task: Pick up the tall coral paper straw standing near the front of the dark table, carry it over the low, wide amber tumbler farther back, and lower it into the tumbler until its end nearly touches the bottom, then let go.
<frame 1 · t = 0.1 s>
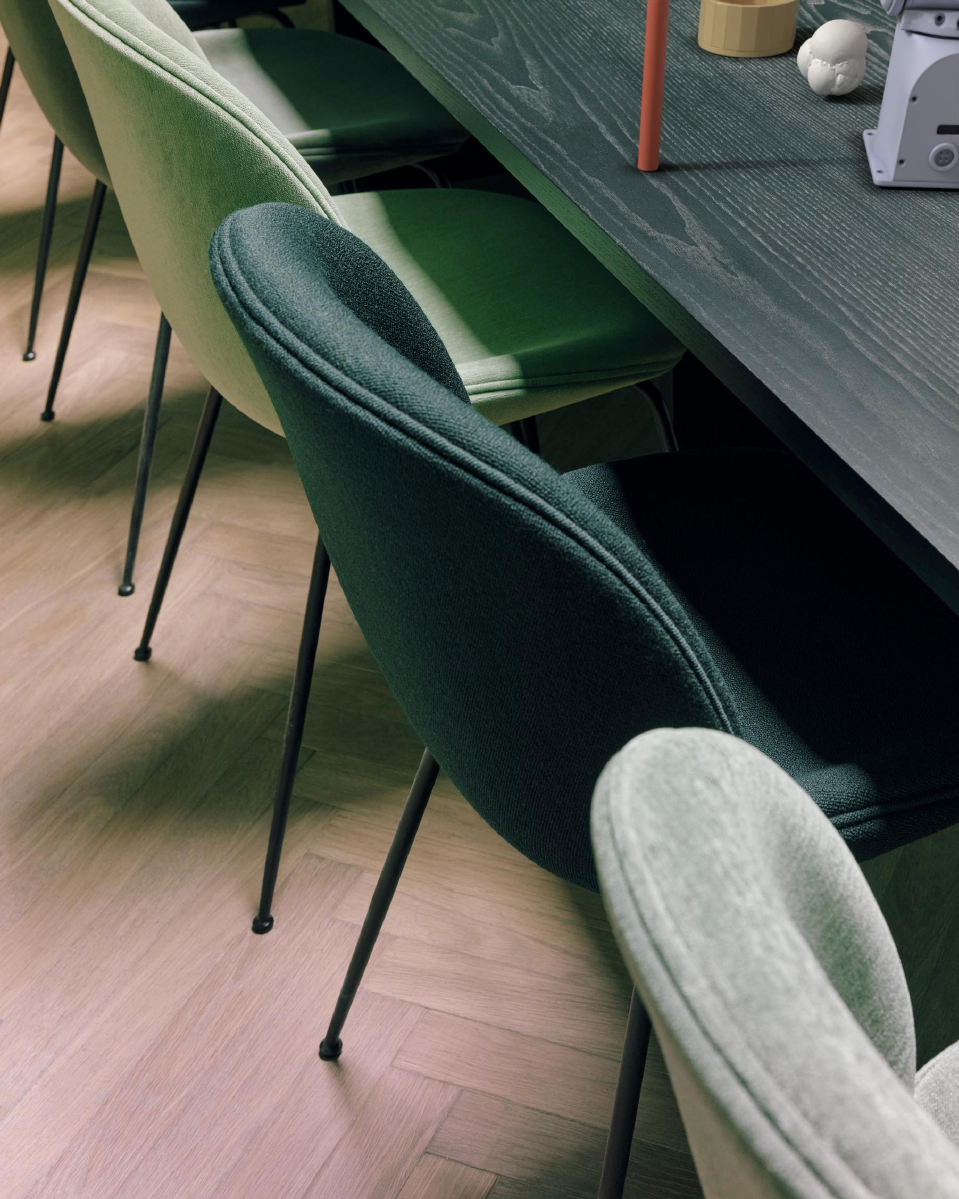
microfossil shell: (824, 98, 94), on the table
straw: (648, 167, 84), on the table
tumbler: (745, 42, 105), on the table
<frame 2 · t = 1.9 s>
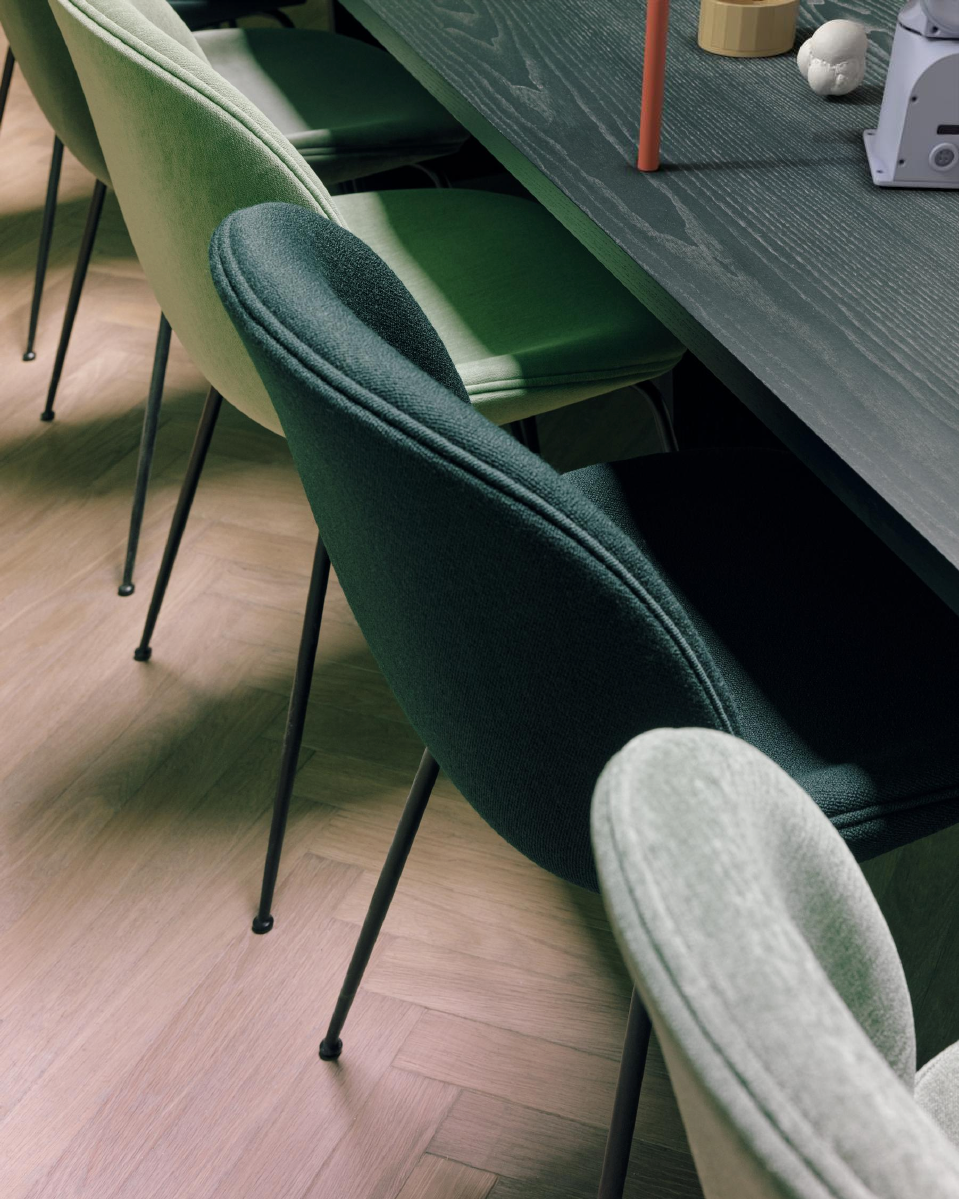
nothing on the table moved.
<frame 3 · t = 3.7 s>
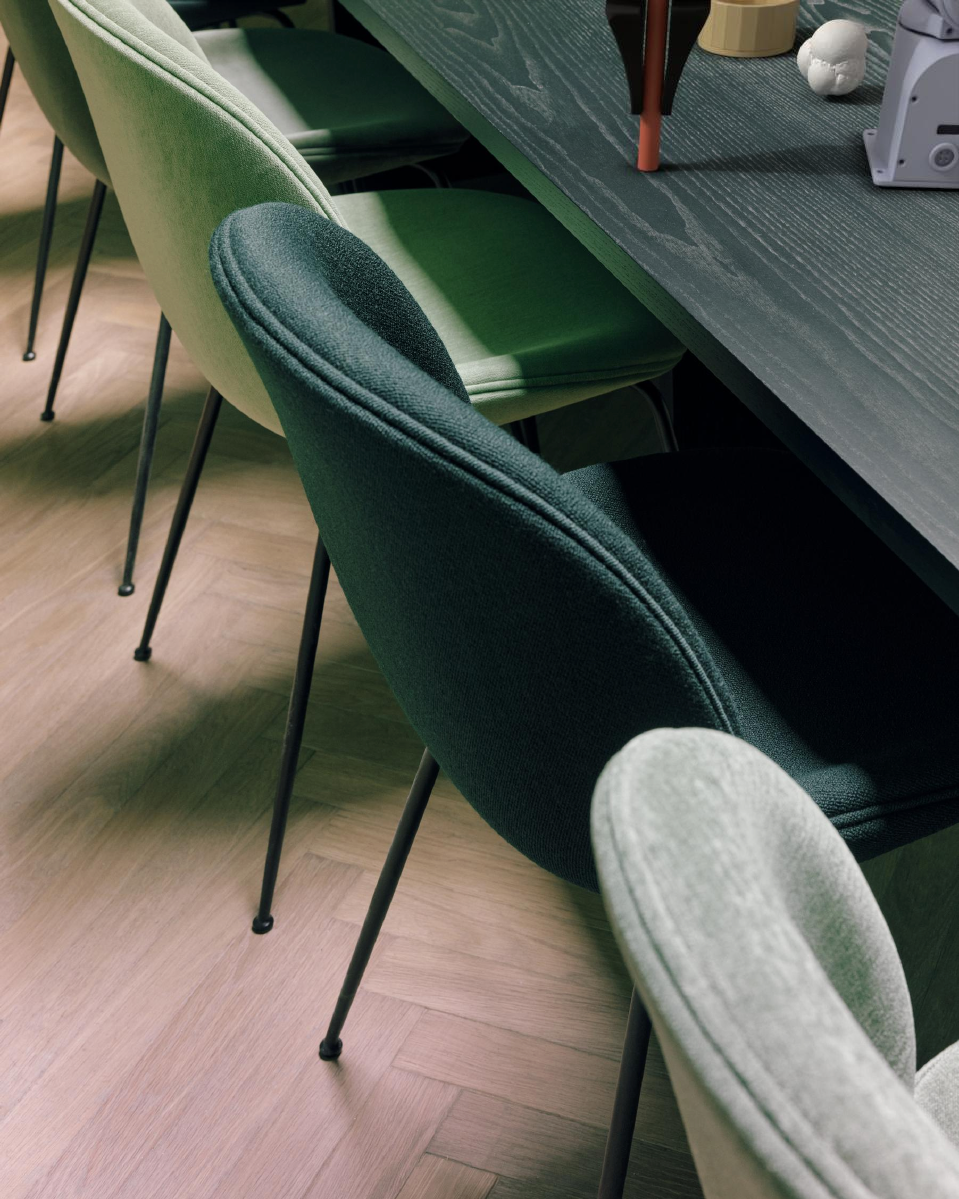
hand: (651, 110, 81), 4 cm above the table, tool pointing down, fingers closed on straw, 1 cm apart
straw: (648, 167, 84), on the table, touching gripper
everything else where it was.
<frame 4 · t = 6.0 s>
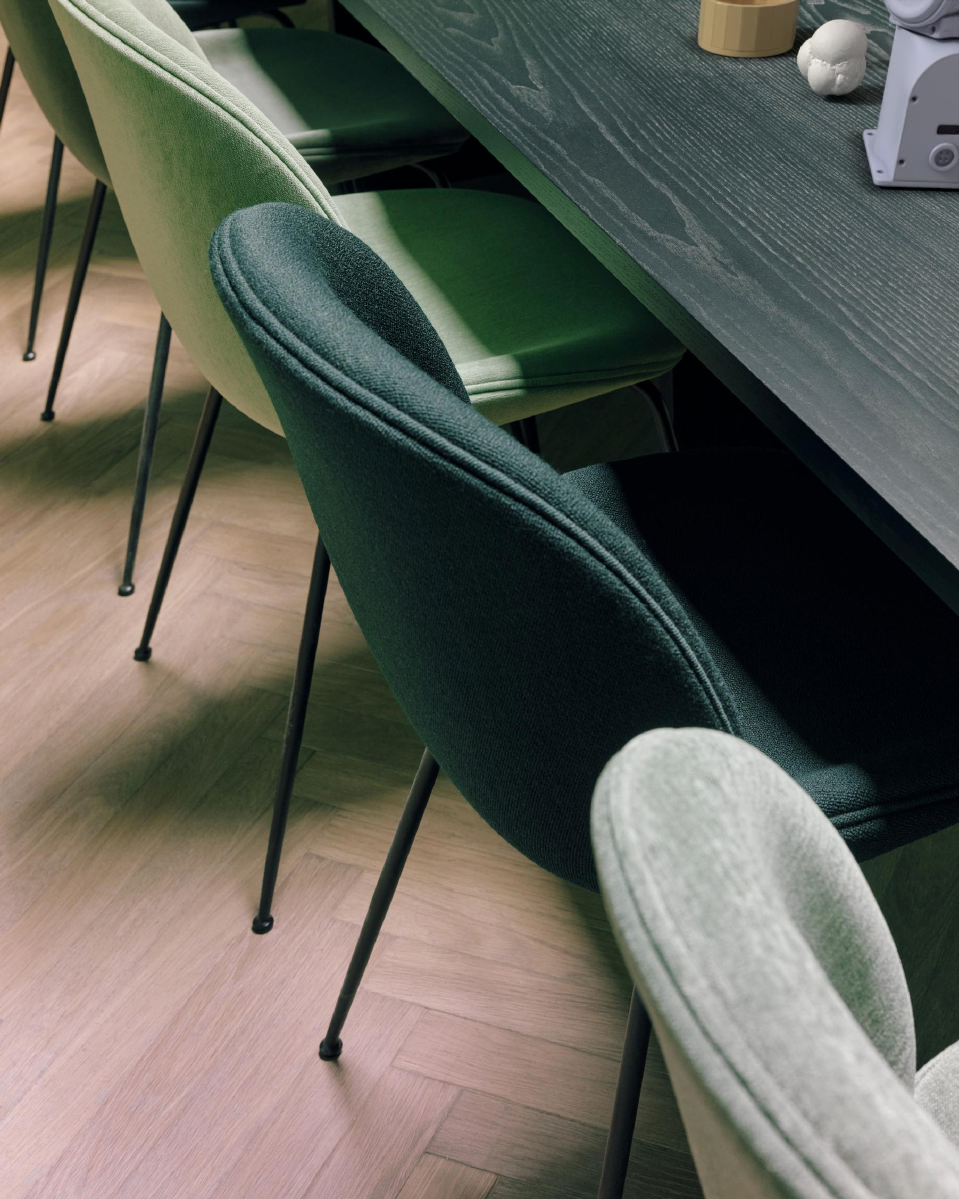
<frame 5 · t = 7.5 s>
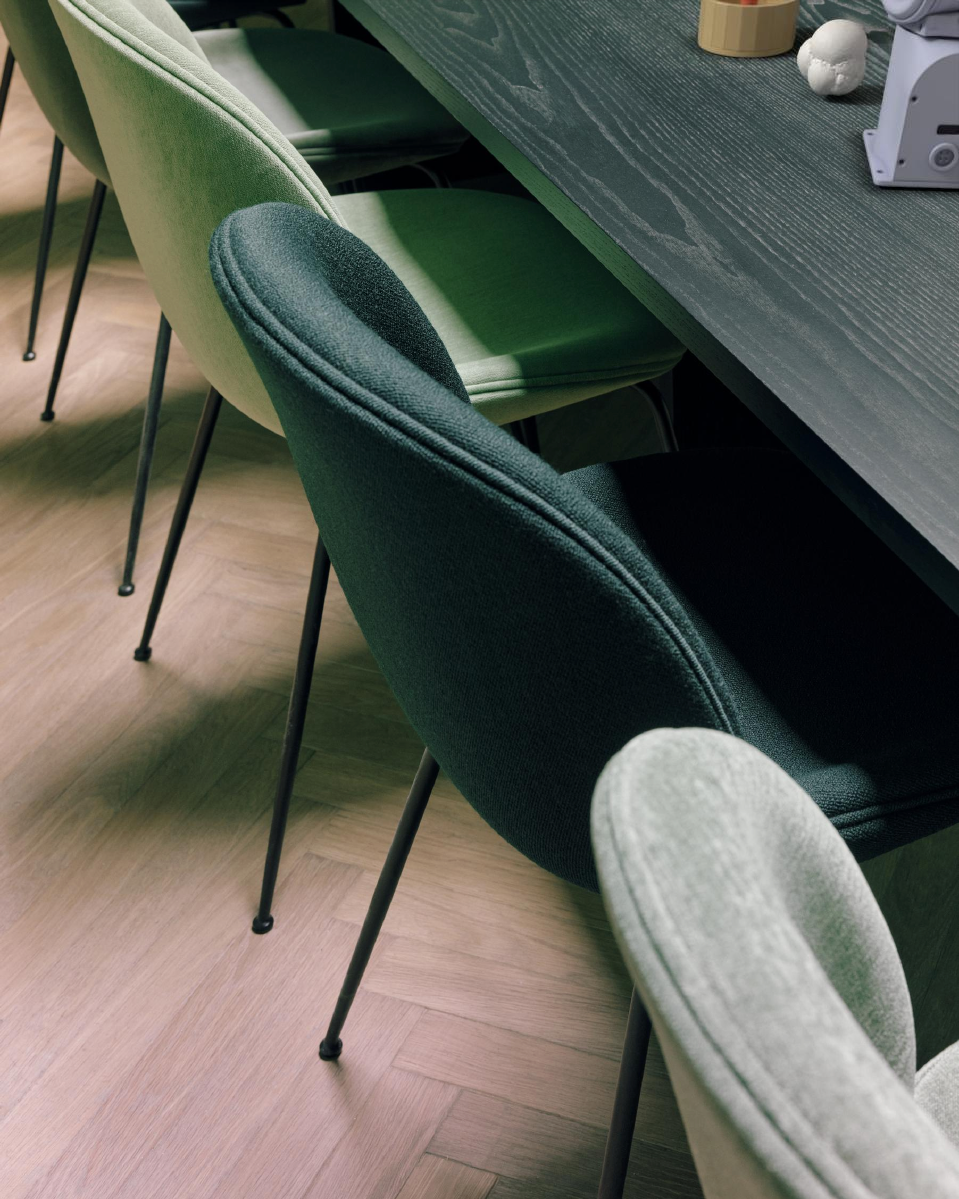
straw: (749, 6, 103), point 3 cm above the table, touching gripper
everything else where it was.
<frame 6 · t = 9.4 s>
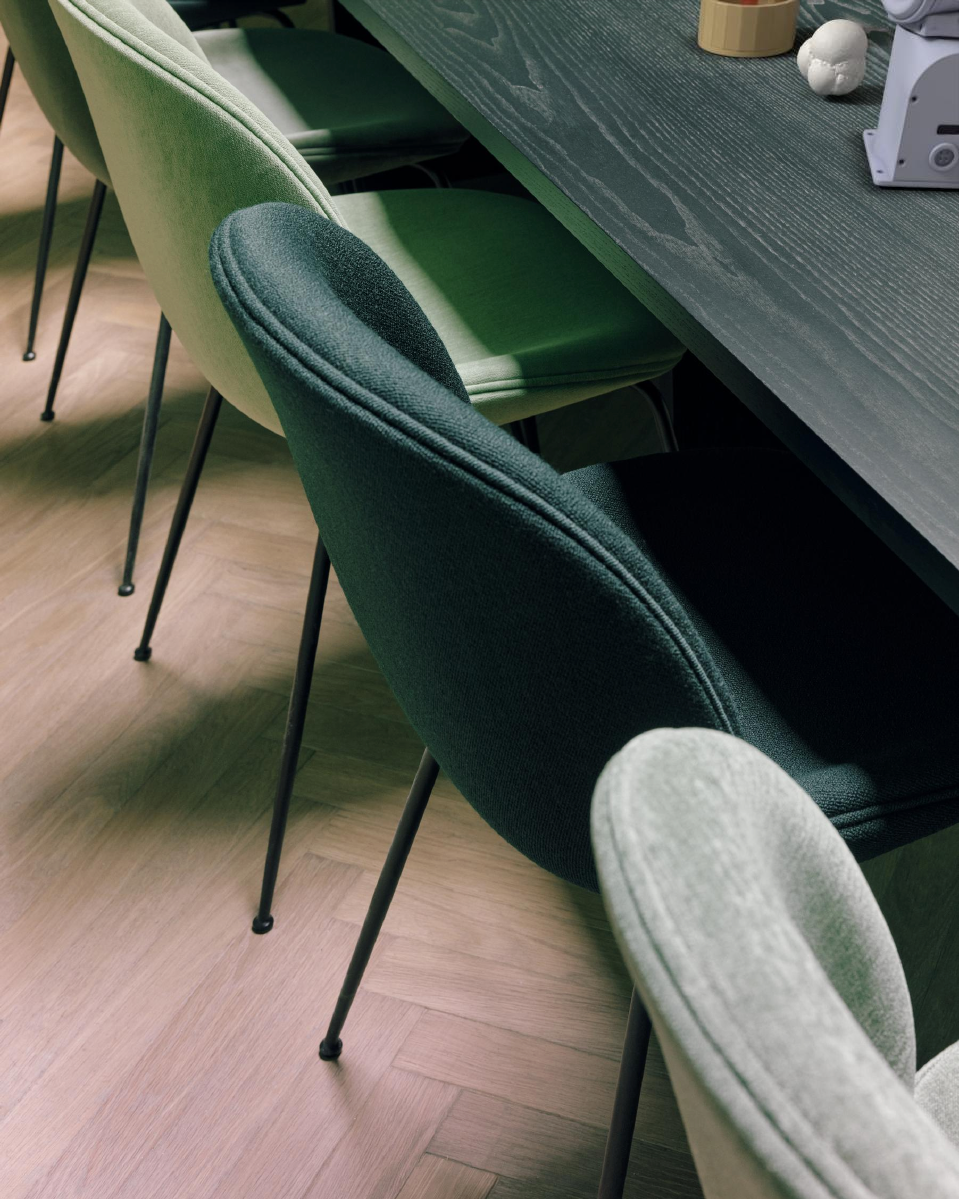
straw: (745, 36, 104), resting on tumbler
tumbler: (745, 42, 105), on the table, touching straw
everything else where it was.
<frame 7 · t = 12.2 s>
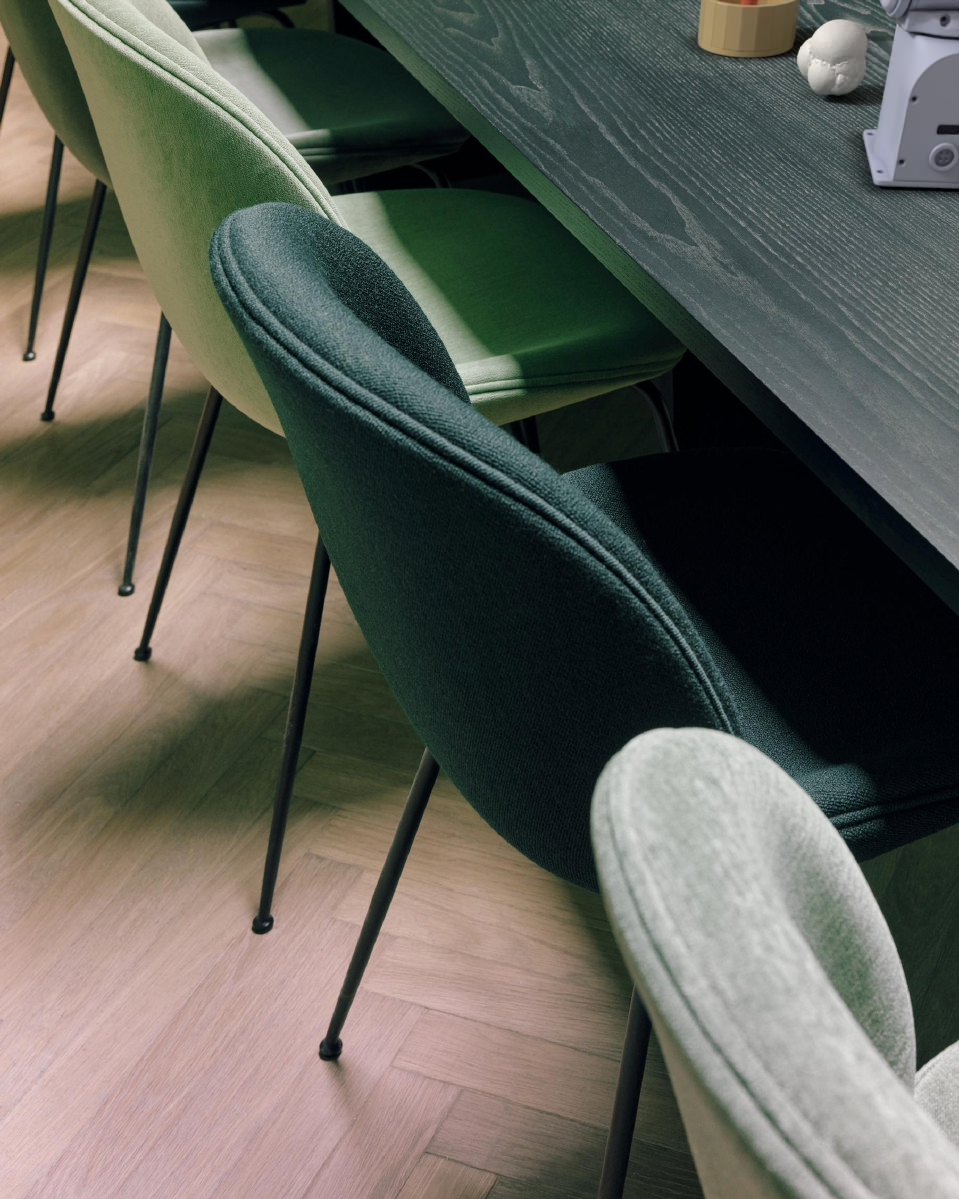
nothing on the table moved.
at the end: straw 0.0 cm off-centre in the tumbler, point 0.5 cm above the tumbler's base; the gripper is holding nothing; tumbler moved 0.0 cm from its start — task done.
